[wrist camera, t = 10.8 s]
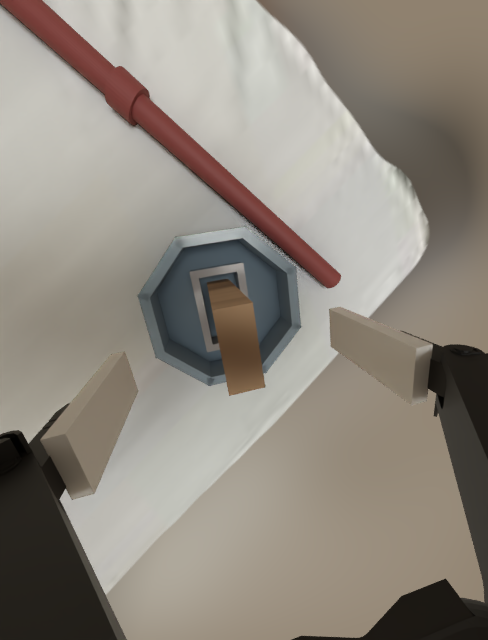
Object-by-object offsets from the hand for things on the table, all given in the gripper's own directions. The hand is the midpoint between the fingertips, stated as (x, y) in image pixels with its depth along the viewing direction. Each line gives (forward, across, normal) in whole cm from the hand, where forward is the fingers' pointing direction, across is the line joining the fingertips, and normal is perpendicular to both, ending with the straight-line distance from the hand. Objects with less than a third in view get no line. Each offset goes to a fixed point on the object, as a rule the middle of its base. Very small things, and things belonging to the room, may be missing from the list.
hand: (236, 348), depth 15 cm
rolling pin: (+16, -1, +16) cm, 23 cm away
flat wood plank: (+14, 0, 0) cm, 14 cm away
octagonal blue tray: (+15, 0, 0) cm, 15 cm away
